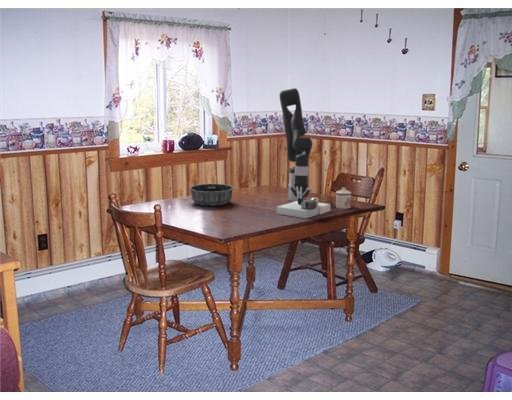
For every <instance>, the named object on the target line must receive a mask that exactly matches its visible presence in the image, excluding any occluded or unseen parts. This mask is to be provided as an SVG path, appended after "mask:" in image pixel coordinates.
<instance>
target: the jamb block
mask: <svg viewBox="0 0 512 400" xmlns="http://www.w3.org/2000/svg"><path fill="white" fill-rule="evenodd" d="M303 201H305V199H304V200H303ZM291 203H292V204H298V201H291ZM316 207H318V215H323V214H325V213H328V212H331V204H330V203H325V202H319V201H318V205H316Z"/></svg>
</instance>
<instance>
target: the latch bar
mask: <svg viewBox="0 0 512 400" xmlns="http://www.w3.org/2000/svg"><path fill="white" fill-rule="evenodd" d="M319 199H320V198H319V197H316V196H315V197H311V198H309V199H306V200H305V199H304V201H302V202H301V208H305V209H306V208H307V203H308V202H310V201H316V205H318V202H319Z"/></svg>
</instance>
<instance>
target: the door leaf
mask: <svg viewBox="0 0 512 400" xmlns="http://www.w3.org/2000/svg"><path fill="white" fill-rule="evenodd" d="M276 214H277V215H284V216H289V217H293V218H294V217H296V218H302V219H309V218H311V217H314V216H317V215H319V214H318V207H316V208H315V209H312V210H307V208H306V209H305V208H301V205H298V204H292V202H288V203H286V204H282V205H278V206H276Z"/></svg>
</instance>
